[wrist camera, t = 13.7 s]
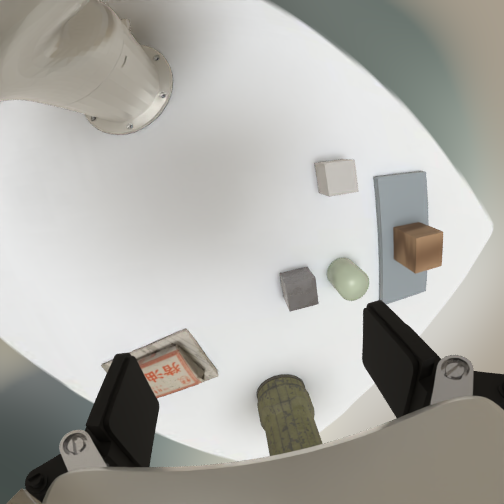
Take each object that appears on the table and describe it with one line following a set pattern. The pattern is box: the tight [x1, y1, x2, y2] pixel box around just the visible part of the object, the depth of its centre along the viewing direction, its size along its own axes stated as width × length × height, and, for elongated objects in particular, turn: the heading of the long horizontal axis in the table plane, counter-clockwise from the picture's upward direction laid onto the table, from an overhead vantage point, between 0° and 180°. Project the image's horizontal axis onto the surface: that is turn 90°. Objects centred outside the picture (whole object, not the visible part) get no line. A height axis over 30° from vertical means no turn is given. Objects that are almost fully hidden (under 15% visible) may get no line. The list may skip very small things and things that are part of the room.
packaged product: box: [101, 329, 218, 398], centre depth 42 cm, size 18×5×10 cm
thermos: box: [257, 375, 322, 456], centre depth 31 cm, size 9×12×35 cm
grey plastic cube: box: [314, 159, 358, 197], centre depth 35 cm, size 4×4×4 cm
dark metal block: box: [279, 267, 318, 311], centre depth 40 cm, size 4×4×4 cm
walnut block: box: [393, 222, 443, 274], centre depth 37 cm, size 5×5×6 cm
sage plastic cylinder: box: [327, 258, 369, 301], centre depth 39 cm, size 4×4×5 cm
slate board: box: [374, 171, 428, 304], centre depth 40 cm, size 20×9×1 cm, turn 11°
